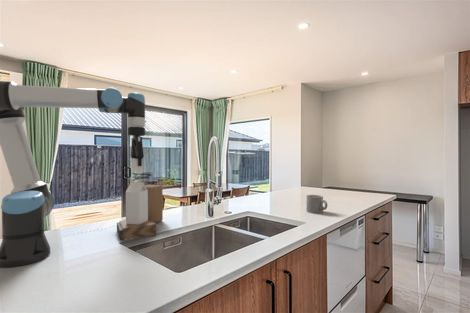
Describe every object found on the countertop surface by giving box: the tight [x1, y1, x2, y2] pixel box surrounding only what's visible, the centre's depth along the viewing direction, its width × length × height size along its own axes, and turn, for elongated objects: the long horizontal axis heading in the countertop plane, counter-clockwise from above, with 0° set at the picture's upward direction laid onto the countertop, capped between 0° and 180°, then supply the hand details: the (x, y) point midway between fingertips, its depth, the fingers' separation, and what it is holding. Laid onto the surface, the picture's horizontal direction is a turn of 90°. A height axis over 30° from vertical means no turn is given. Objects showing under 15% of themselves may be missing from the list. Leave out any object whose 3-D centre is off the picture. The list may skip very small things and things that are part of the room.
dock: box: [116, 217, 157, 241], centre depth 121 cm, size 15×14×5 cm
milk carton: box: [125, 181, 148, 225], centre depth 121 cm, size 7×7×19 cm
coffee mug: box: [306, 194, 328, 214], centre depth 163 cm, size 13×10×10 cm
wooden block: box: [144, 184, 164, 224], centre depth 139 cm, size 10×10×20 cm
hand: (136, 172), depth 120 cm, fingers open, 13 cm apart
